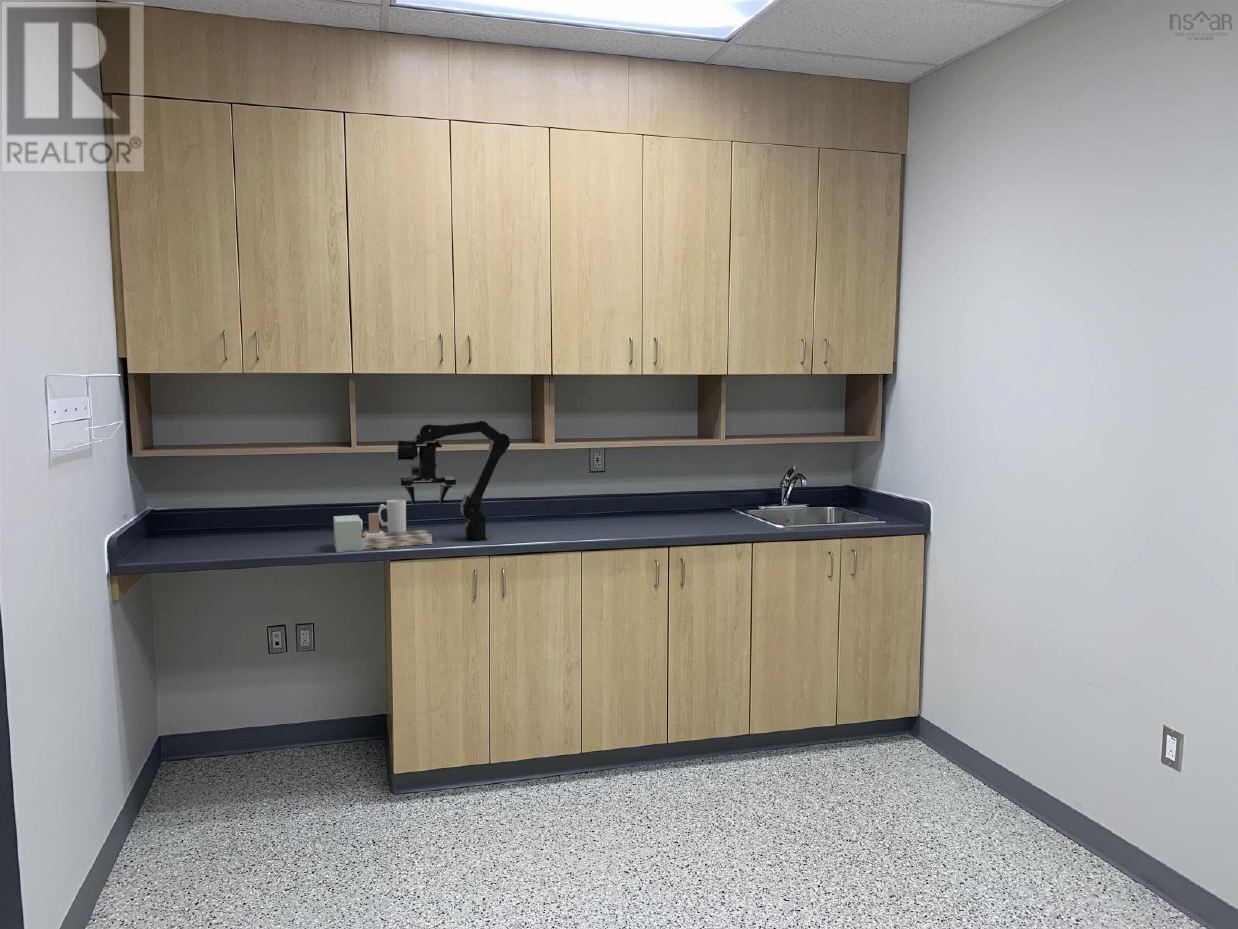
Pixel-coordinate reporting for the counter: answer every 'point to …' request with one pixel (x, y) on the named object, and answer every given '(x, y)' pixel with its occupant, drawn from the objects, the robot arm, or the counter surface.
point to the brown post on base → (374, 527)
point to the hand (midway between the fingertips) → (427, 505)
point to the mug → (394, 515)
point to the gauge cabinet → (348, 533)
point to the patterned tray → (398, 539)
